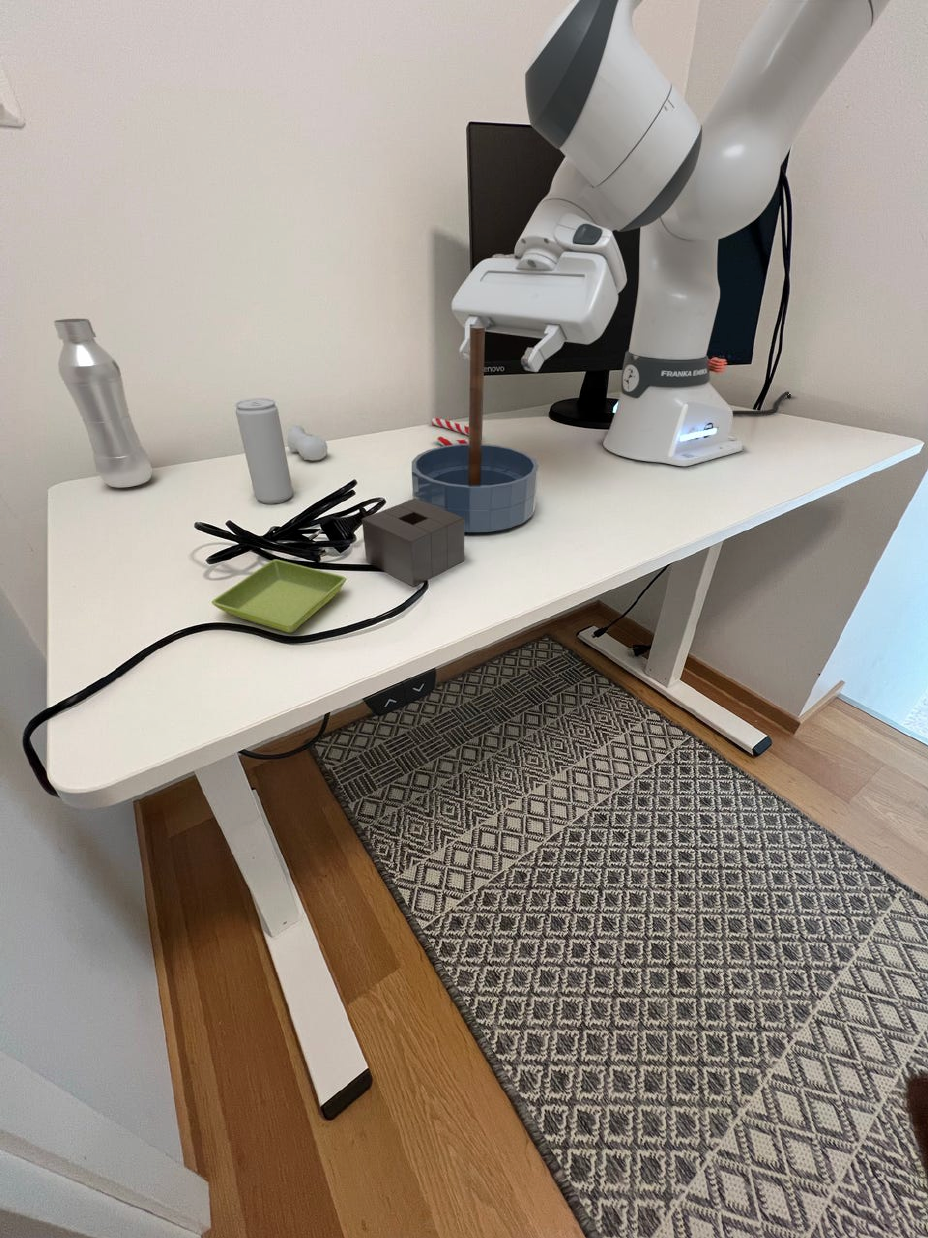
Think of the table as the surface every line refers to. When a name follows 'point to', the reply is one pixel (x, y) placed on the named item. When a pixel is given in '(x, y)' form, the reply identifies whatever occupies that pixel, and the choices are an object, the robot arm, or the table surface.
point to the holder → (414, 540)
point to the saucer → (280, 595)
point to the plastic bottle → (101, 405)
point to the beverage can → (264, 449)
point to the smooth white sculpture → (306, 444)
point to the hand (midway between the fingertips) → (495, 362)
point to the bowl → (485, 506)
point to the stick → (475, 403)
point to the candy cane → (451, 426)
